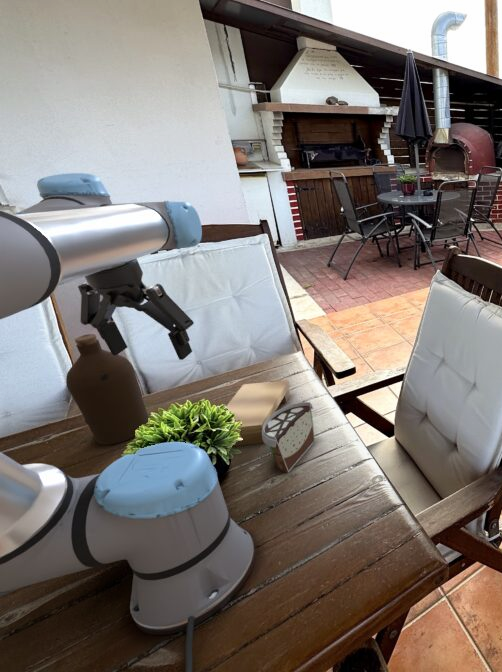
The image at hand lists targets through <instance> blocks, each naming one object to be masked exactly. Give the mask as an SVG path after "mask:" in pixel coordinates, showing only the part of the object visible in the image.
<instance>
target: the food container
mask: <svg viewBox="0 0 502 672" xmlns="http://www.w3.org/2000/svg"><path fill="white" fill-rule="evenodd" d="M313 409H314V406H313V404H312V403H311V402H310V401H304V402H303V401H302V402H296V403H293V404H292V403H291V404H289V405H286V406H284V407H282V408H280V409H278V410H276V411H275V413H273V414H272V415H271V416H269V417H268V419H267V420H266V421H265V423H264V425H263V429H262V440H263V442H264V443H263V444H265V445H266V446H268V447H269V449H270V451H271V452H270V453H271V454H272V456H273V459H274V461H275V464H276V466H277V468H278V470H280V471H281V472H283V473H287V474H289V473H290V471H292V469H293V468H294V467H295V466H296V464H297V463H298V462H299V461H300V460H301V459H302V457H304V456H305V454H306V453H307V452H308V450H309V449H310V448H311V447H312V446H313V445H314V443H315V442H316V436H315V427H314V420H313V411H312V410H313Z"/></svg>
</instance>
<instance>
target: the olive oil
mask: <svg viewBox="0 0 502 672" xmlns="http://www.w3.org/2000/svg"><path fill="white" fill-rule="evenodd" d="M74 342H75V343H76V345H75V346H76V349H77V350H78V352H79V357H78V358H77V359H76V361H75V362H74V363H73V364H72V366H71V367H70V369H68V372H67V373H66V378H65V383H66V388H67V390H68V391H69V393H70V395H71V396H72V399H73V400H74V402H75V404H76V406H77V407H78V409H79V410H80V413H81V415H82V417H83V418H84V421H85V423H86V424H87V425H88V428H89V429H90V431H91V433H92V435H93V437H94V440H95V441H96V443H97V444H99V445H101V446H110V445H115V444H121V443H123V442H126V441H128V440H131V439H133V438H135V437H136V436H135V430H136V429H137V428H139V426H141V425H142V424H146V423H147V422H148V418H149V419H150V417H149V413H148V411H147V407H146V404H145V402H144V398H143V395H142V392H141V388H140V385H139V382H138V379H137V375H136V371H135V368H134V366H133V364H132V363H131V362H130V361H129V360H128V358H126V357H125V356H123V355H121V354H118V355H112V353H111V351H108V350H105V349H103V348H102V347H101V343H100V341H99V339H97V335H96V334H95V333H89V334H83V335H81V336H78V337H76V338H75V339H74Z"/></svg>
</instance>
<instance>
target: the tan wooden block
mask: <svg viewBox="0 0 502 672" xmlns="http://www.w3.org/2000/svg"><path fill="white" fill-rule="evenodd" d="M290 387H291V385H290V380H288V379H287V380H286V379H285V380H276V381H266V382H253V383H244V384H242V385H241V386H240V388H239V389H238V391H237V392H236V393H235V394H234V396H233V397H232V398H231V399H230V400H229V402H228V403H227V404H226V405H225V407H227V409H228V410H229V411H231V412H233V413H235V420H236V421H238V420H241V421H242V426H241V431H240V435H241V437H242V438H243V440H242V441H238V442H236V444H235V445H234V446H233V447H239V446H247V445H256V444H265V443H264V442H263V440H262V429H263V425H264V423H265V421H266V420H267V419H268V417H269V416H271V415H272V414H273V413H275V412H276V411H277V409H278V408H279V406H280V404H286V403H288V401H289V399H290V397H291V393H290Z"/></svg>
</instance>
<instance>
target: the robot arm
mask: <svg viewBox="0 0 502 672" xmlns="http://www.w3.org/2000/svg"><path fill="white" fill-rule="evenodd" d="M36 187H37V190H38V193H39V197H40V198H42V200H40V201H39V202H37V203H35V204H33V205H31V206H29V207H27V208H25V209H23V210H21V211H17V212H15V213H11V212H8V211H5V210H2V209H0V320H3V319H6V318H8V317H10V316H11V317H12V316H13V315H16V314H18V313H20V312H23V311H25V310H29V309H31V308H33V307H36V306H37V305H40V304H41V303H43V302H44V301H46V300H48V298H50V297H51V296H52V295H53V294H54V293H55V292H56V290H57V289H58V287H59V286H61V285H64V284H67V283H69V282H73V281H76V280H78V279H82V278H84V279H85V280H86V282H84V283H82V284H80V285H78V286H77V288H78V291H79V293H80V295H81V297H80V299H81V300H80V323H81V325H84V326H87V325H90V326H91V327H92V328H93V329H96V331H97V332H98V334H99V336H100V338H101V339H102V340H103V341H104V342H105V344H106V346H107V348H108V349H109V352H111V353H112V355H120V353H122V352H123V351H125V350H126V349H127V348H128V345H127V343H126V341H125V339H124V336H123V335H122V333H121V331H120V329H119V328H118V326H117V324H116V322H115V321H111V320H112V316H113V314H114V312H115V311H116V309H117V308H129V309H134V310H136V311H137V312H143V313H144V314H145V315H146V316H148V317H149V318H151V319H152V320H154V321H155V322H157V323H158V324H159V325H161V326H162V327H164V328H165V329H166V330H167V331H169V332H168V333H167V336H168V339H169V340H170V342H171V344H172V346H173V349H174V351H175V354H176V355H177V358H178V360H180V361H184V360H185V359H186V358H187V357H188V356H190V354H192V353H193V349H192V347H191V345H190V340H191V339H190V337H189V334H188V332H187V330H189V328H190V327H192V326H193V325H194V324H195V322H194V320H192V319H191V318H190V317H189V315H188V314H187V313H186V312H185V311H184V310H183V309H182V308H181V307H180V306H179V305H178V304H177V303H176V302H175V301H174V300H173V299H172V298H171V297H170V296H169V294H167V292H166V290H165V289H164V287H163V285H162V284H160V283H156V284H154V285H152V286H147V285H145V283H144V282H143V280H142V279H143V276H144V275H143V274H144V273H143V270H142V267H141V265H140V263H139V260H138V258H142V257H144V256H147V255H151V254H153V253H157V252H160V251H163V250H164V251H165V250H171V249H172V250H173V249H175V250H181V249H184V248H192V247H193V248H194V247H196V246H198V245H199V244H200V242H201V241H202V238H203V229H202V222H201V218H200V216H199V214H198V211H197V210H196V207H194V206H193V205H192V204H191V203H189V202H188V201H169V200H164V201H151V202H150V201H148V202H125V203H113V202H112V199H111V195H110V194H109V193H108V190H107V189H106V187H105V185H104V184H103V182H102V180H101V179H100V177H98V176H96V175H94V174H91V173H84V172H78V173H77V172H69V173H60V174H53V175H48V176H45V177H44V176H43V177H42V178H40V179H38V180H37V182H36ZM101 297H102V299H101ZM145 301H146V302H145ZM185 442H186V441H185ZM185 442H180V441H170V442H169V441H168V442H167V441H166V442H161V443H160V442H159V443H154V444H155V445H151V446H147V447H144V448H141V449H139V450H137V449H136V450H137V451H136V450H135V451H136V453H135V454H133V453H132V454H131V453H127V454H124V455H123V456H121V457H120V458H117V459H116V460H114V461H113V462H112V463H110V464H109V465H108V466H107V467H106V468H105V469H103V471H102V472H101V473H96V474H92V475H87V476H82V477H71V476H70V475H68V473H66V472H64V471H62V470H61V469H60V468H58V467H56V466H55V465H51V464H47V463H28V464H27V463H26V464H20V463H19V462H17V461H15V460H14V459H13V458H11V457H9V456H8V455H6V454H4V453H3V452H1V451H0V596H1V595H5V594H9V593H11V592H14V591H15V590H18V589H21V588H25V587H28V586H31V585H36V584H38V583H43V582H46V581H49V580H53V579H58V578H61V577H64V576H67V575H71V574H76V573H78V572H82V571H85V570H90V569H93V568H96V567H100V566H104V565H107V564H111V563H116V562H119V561H123V560H126V561H127V563H128V564H129V567H130V569H131V571H132V573H133V577H132V584H131V585H132V586H131V594H130V603H129V610H130V614H131V617H132V619H133V622H134V623H135V625H136V626H137V628H138V629H139V630H140V631H142V632H143V633H144V634H147V635H150V636H151V635H152V636H167V635H172V634H176V633H180V632H183V631H185V630H186V636H185V650H184V654H185V655H184V658H185V659H184V661H185V663H184V664H185V665H184V666H185V668H184V672H193V670H194V669H193V667H194V666H193V664H194V663H193V662H194V661H193V660H194V659H193V643H194V629H195V626H197V625H199V624H200V623H202V622H204V621H205V620H208V619H209V618H210V617H211V616H213V615H214V614H216V613H217V612H219V611H220V610H221V609H222V608H223V607H225V606H226V605H227V604H228V603H229V602H231V600H232V599H233V598H235V596H236V595H237V594H238V593H239V592H240V590H241V589H242V588H243V586H244V585H245V584H246V583H247V581H248V579H249V577H250V575H252V574H251V573H252V571H253V569H254V566H255V563H256V558H257V551H256V546H255V543H254V540H253V538H252V536H251V534H250V533H249V532H248V531H247V530H246V529H244V528H242V527H241V526H239V525H238V524H237V523H236V522H235V521H234V519H232V518H231V516H230V514H229V510H228V507H227V503H226V501H225V498H224V495H223V492H222V488H221V485H220V482H219V478H218V472H217V469H216V467H215V466H214V465H213V463H212V461H211V458H210V457H209V454H208V453H207V452H206V451H205V449H203V448H200V447H199V446H198V445H196V444H193V443H190V442H186V443H185Z"/></svg>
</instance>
